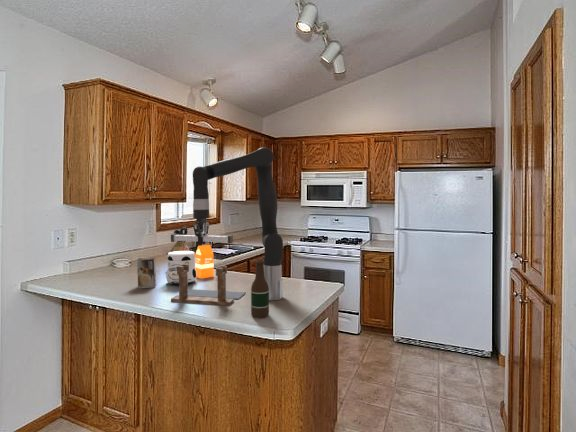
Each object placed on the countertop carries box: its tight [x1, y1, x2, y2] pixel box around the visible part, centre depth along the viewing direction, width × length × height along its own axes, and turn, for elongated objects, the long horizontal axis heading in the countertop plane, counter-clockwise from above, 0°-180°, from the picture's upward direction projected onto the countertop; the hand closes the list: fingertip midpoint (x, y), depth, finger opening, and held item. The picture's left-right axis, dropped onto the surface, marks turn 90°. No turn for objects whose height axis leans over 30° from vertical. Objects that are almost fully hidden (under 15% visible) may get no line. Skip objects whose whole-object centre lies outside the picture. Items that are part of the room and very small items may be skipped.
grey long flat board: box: [188, 288, 247, 300], centre depth 192 cm, size 32×12×1 cm, turn 79°
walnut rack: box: [170, 264, 235, 306], centre depth 178 cm, size 30×6×18 cm, turn 79°
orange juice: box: [195, 244, 215, 279], centre depth 234 cm, size 8×9×20 cm
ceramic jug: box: [170, 226, 191, 252], centre depth 250 cm, size 17×15×30 cm
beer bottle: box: [250, 259, 270, 319], centre depth 158 cm, size 8×8×24 cm
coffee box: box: [136, 257, 157, 289], centre depth 207 cm, size 9×6×16 cm
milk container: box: [165, 250, 198, 286], centre depth 216 cm, size 17×17×18 cm
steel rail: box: [170, 233, 234, 244], centre depth 177 cm, size 30×4×4 cm, turn 79°
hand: (201, 244), depth 177 cm, fingers closed on steel rail, 2 cm apart
